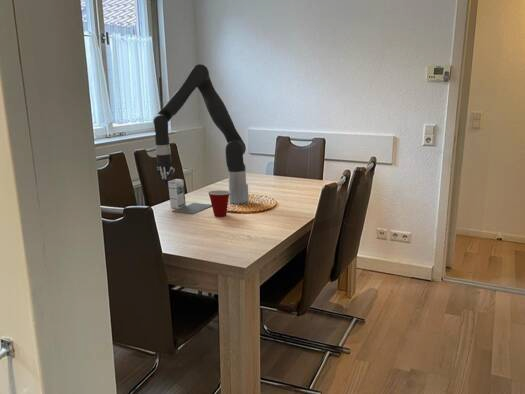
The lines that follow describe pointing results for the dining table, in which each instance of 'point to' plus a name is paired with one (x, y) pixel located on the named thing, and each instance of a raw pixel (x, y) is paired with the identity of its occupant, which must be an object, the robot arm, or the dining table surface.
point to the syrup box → (177, 193)
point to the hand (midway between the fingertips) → (166, 185)
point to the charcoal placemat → (192, 208)
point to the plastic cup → (219, 202)
